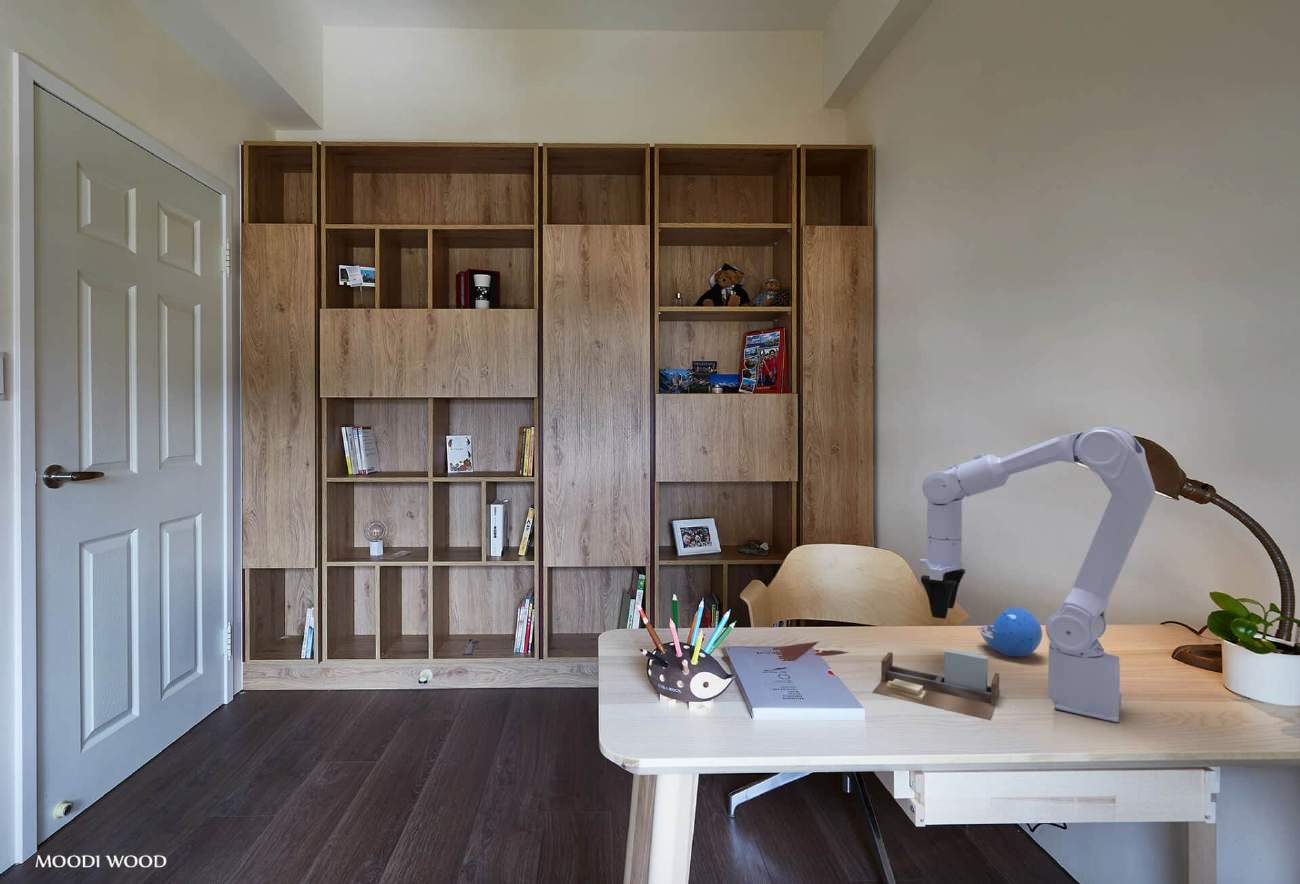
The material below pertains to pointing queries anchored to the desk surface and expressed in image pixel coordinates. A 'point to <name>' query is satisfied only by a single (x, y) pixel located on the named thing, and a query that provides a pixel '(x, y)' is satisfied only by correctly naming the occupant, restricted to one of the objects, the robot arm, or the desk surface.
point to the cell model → (1013, 632)
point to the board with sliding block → (941, 691)
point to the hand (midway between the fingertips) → (943, 612)
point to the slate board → (966, 669)
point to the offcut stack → (905, 689)
